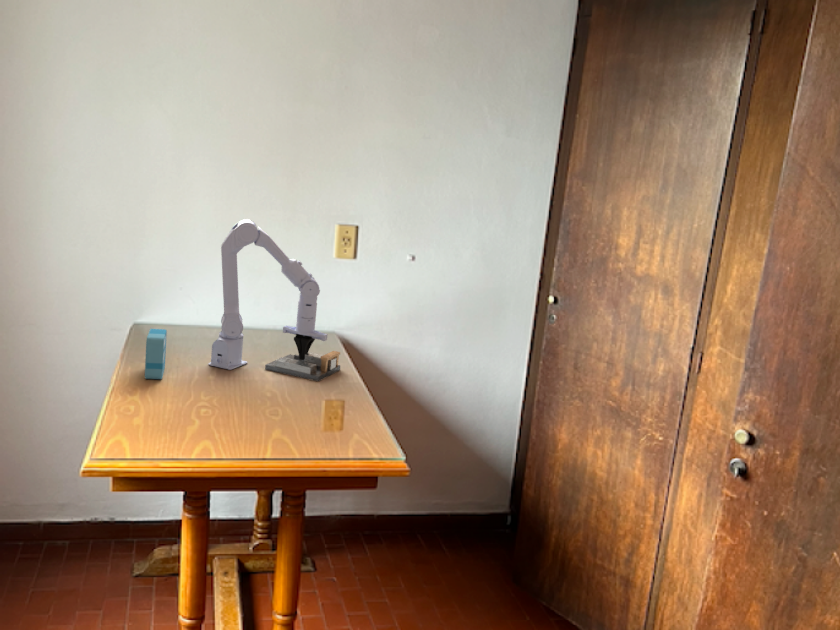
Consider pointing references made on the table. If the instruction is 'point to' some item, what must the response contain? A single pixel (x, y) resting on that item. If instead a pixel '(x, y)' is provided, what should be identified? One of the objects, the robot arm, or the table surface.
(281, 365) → the base
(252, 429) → the table surface
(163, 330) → the data package
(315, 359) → the bar
